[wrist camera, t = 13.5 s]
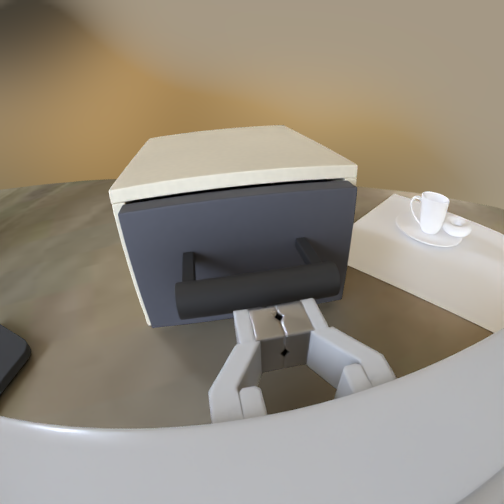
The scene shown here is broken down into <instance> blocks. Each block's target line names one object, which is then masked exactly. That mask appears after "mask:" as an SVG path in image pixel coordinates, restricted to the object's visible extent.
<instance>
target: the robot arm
mask: <svg viewBox="0 0 504 504" xmlns="http://www.w3.org/2000/svg"><path fill="white" fill-rule="evenodd" d="M233 316H234V324H235V333H236V340H237V345H235V347H234V348H233V350H232V352H231V354H230V355H229V357H228V359H227V361H226V362H225V364H224V366H223V368H222V369H221V371H220V373H219V374H218V376H217V378H216V380H215V381H214V383H213V385H212V386H211V388H210V390H209V391H208V394H209V403H210V412H211V421H212V424H204V425H194V426H182V427H166V428H139V429H115V428H88V427H73V426H62V425H53V424H44V423H37V422H30V421H24V420H18V419H12V418H8V417H3V416H0V504H504V328H503V329H501V330H499V331H498V332H496V333H494V334H492V335H490V336H489V337H487V338H485V339H483V340H481V341H479V342H478V343H476V344H474V345H472V346H470V347H468V348H466V349H464V350H462V351H460V352H458V353H456V354H454V355H452V356H450V357H447V358H445V359H443V360H441V361H439V362H437V363H434V364H432V365H430V366H427V367H425V368H423V369H420V370H418V371H415V372H413V373H410V374H408V375H405V376H403V377H400V378H398V379H397V378H396V376H395V374H394V373H393V371H392V369H391V367H390V366H389V364H388V362H387V361H386V359H385V357H384V356H383V354H381V353H380V352H378V351H376V350H374V349H372V348H370V347H369V346H367V345H365V344H363V343H361V342H360V341H358V340H356V339H354V338H352V337H351V336H349V335H347V334H345V333H343V332H342V331H340V330H338V329H336V328H335V327H329V326H328V324H327V322H326V320H325V318H324V317H323V315H322V313H321V311H320V309H319V307H318V305H317V303H316V301H315V300H314V299H313V298H309V299H304V300H300V301H294V302H289V303H283V304H277V305H272V306H265V307H257V308H250V309H244V310H236V311H233ZM303 364H306V365H307V366H308V367H309V368H311V369H312V370H313V371H314V372H315V373H317V374H318V375H319V376H320V377H322V378H323V379H324V380H325V381H327V382H328V383H329V384H331V385H332V386H333V387H334V388H336V389H337V390H336V393H335V396H334V399H333V400H330V401H327V402H323V403H319V404H315V405H311V406H307V407H303V408H299V409H294V410H290V411H285V412H281V413H276V414H271V415H268V414H267V411H266V407H265V403H264V399H263V396H262V392H261V388H259V387H257V385H258V383H259V380H260V378H261V375H262V373H263V372H268V371H273V370H277V369H282V368H287V367H293V366H298V365H303Z"/></svg>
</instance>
